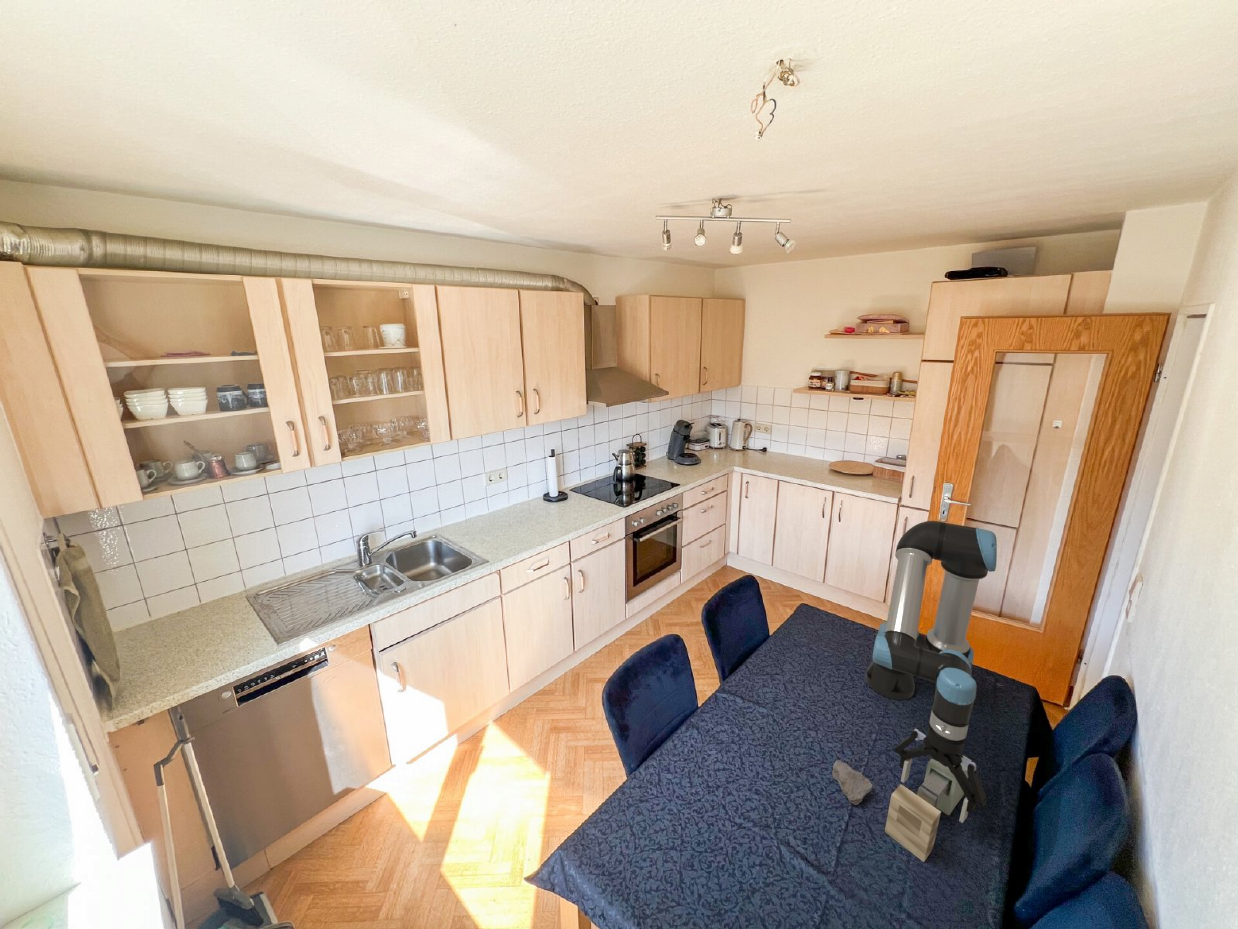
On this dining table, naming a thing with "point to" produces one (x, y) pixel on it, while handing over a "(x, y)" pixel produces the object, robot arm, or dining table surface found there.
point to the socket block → (912, 822)
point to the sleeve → (954, 792)
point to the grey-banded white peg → (934, 788)
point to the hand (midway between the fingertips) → (932, 798)
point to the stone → (851, 782)
